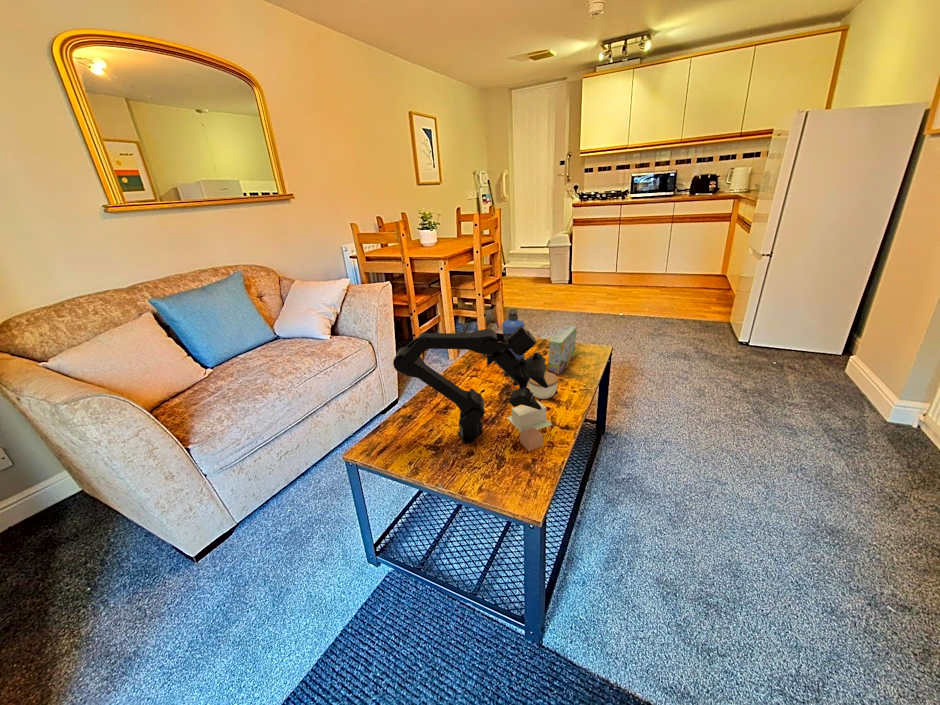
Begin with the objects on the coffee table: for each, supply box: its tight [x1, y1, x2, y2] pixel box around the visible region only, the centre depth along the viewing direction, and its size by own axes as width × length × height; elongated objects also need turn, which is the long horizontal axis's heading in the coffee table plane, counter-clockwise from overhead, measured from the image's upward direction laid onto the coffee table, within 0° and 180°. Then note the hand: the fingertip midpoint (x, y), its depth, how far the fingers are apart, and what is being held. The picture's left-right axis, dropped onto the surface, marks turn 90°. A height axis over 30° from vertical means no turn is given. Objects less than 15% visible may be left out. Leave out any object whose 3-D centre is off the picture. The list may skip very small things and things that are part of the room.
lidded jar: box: [528, 371, 559, 400], centre depth 145 cm, size 11×11×9 cm
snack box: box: [547, 324, 578, 377], centre depth 167 cm, size 21×6×15 cm, turn 150°
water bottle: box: [501, 308, 525, 359], centre depth 169 cm, size 9×9×25 cm
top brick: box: [519, 427, 544, 452], centre depth 118 cm, size 5×5×5 cm
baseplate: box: [506, 415, 553, 432], centre depth 130 cm, size 11×11×1 cm
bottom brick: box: [511, 400, 547, 429], centre depth 129 cm, size 10×5×5 cm, turn 114°
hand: (543, 397), depth 120 cm, fingers open, 9 cm apart
